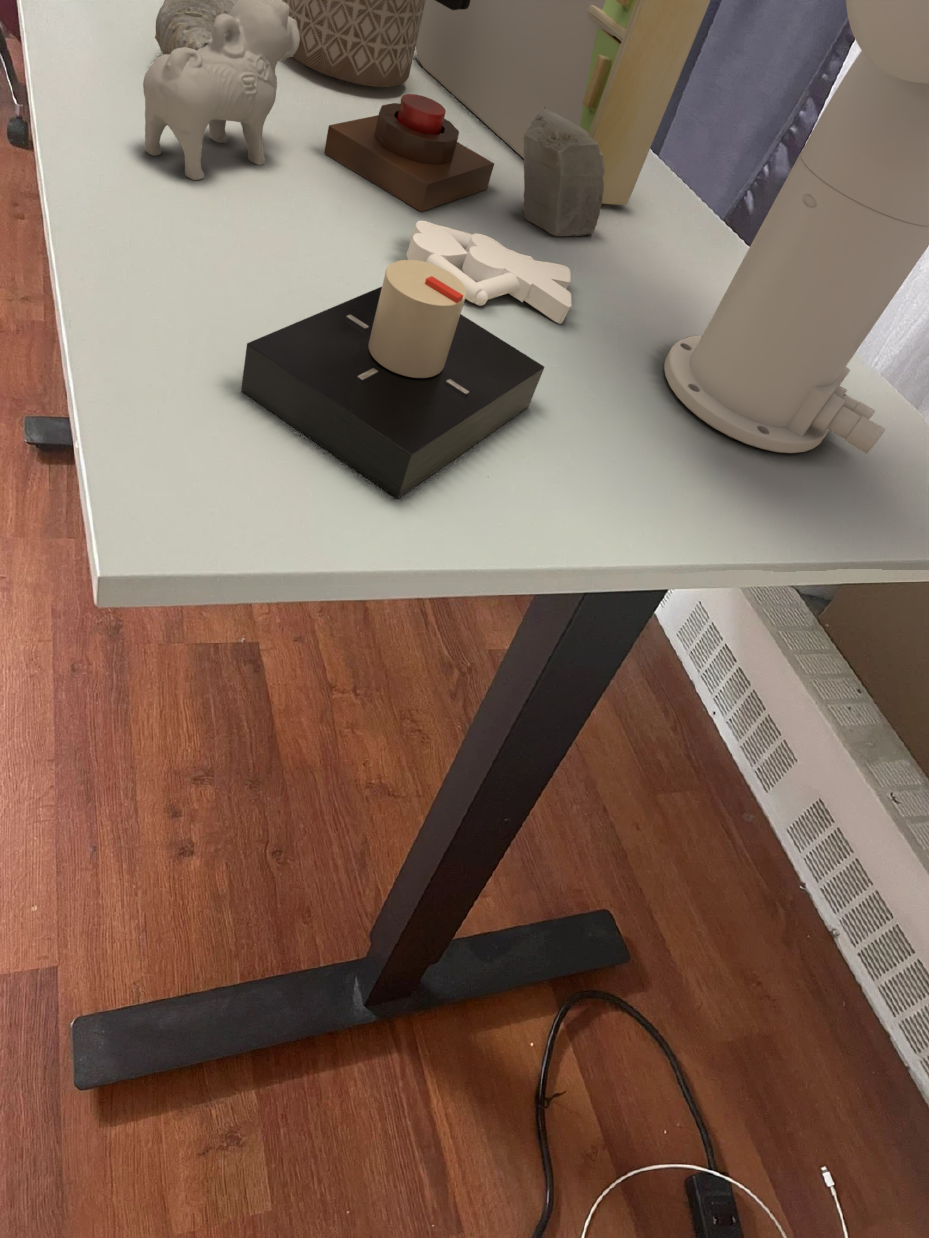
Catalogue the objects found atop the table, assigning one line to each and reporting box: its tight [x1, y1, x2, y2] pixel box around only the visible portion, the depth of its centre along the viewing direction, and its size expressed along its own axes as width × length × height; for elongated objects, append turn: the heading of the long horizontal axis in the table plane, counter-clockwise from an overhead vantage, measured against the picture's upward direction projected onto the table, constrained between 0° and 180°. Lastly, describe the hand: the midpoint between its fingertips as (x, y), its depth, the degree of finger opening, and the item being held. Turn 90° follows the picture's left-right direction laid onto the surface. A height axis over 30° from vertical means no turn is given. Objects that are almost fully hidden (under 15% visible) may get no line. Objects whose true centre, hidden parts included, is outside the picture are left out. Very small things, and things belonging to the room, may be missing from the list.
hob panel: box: [240, 286, 545, 499], centre depth 52 cm, size 14×11×3 cm
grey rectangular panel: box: [415, 0, 614, 159], centre depth 84 cm, size 29×8×18 cm, turn 32°
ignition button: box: [397, 93, 447, 135], centre depth 72 cm, size 4×4×2 cm
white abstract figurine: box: [406, 220, 572, 325], centre depth 65 cm, size 9×12×2 cm
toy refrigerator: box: [579, 0, 711, 206], centre depth 76 cm, size 8×7×21 cm
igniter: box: [323, 102, 495, 212], centre depth 74 cm, size 10×10×4 cm
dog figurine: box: [142, 0, 300, 181], centre depth 64 cm, size 5×13×11 cm, turn 149°
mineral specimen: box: [523, 107, 605, 237], centre depth 73 cm, size 7×9×8 cm
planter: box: [281, 0, 426, 88], centre depth 83 cm, size 13×13×10 cm
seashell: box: [154, 0, 235, 55], centre depth 74 cm, size 6×14×8 cm, turn 5°
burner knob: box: [368, 259, 466, 378], centre depth 49 cm, size 4×4×5 cm
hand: (444, 1), depth 66 cm, fingers closed
